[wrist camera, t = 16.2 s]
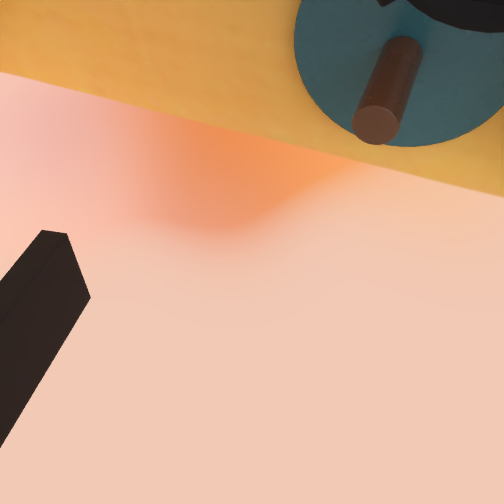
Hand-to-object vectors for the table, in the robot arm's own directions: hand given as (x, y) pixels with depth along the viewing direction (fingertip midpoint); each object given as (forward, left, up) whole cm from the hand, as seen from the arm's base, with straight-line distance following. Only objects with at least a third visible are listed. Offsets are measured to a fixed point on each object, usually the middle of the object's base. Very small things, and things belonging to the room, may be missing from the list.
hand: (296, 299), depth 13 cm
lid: (-1, -6, -24) cm, 24 cm away
